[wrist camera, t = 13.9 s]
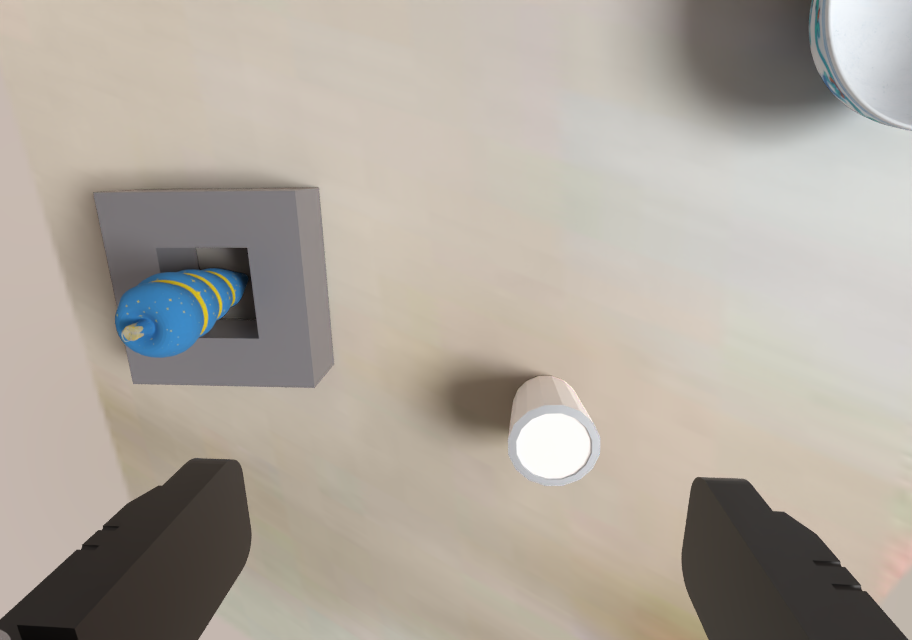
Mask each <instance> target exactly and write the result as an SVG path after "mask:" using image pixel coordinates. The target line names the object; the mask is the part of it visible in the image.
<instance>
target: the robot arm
mask: <svg viewBox="0 0 912 640" xmlns="http://www.w3.org/2000/svg"><path fill="white" fill-rule="evenodd" d="M250 546H251V525H250V518H249V512H248V505H247V498H246V491H245V485H244V478H243V472H242V468H241V465H240V464H239V462H238V461H236V460H230V459H201V458H194V459H191V460H189V461H188V462H187V463H186V464H185V465H184V466H182V467H181V468H180V469H179V470H178V471H177V472H176V473H175V474H174V475H173V476H172V477H171V478H170V479H169V480H168V481H167V482H166V483H165V484H164V485H163V486H157V487H155V488H154V489H152V490H150V491H148V492H147V493H145V494H143V495H142V496H140V497H138V498H136V499H135V500H133V501H131V502H129V503H128V504H126V505H125V506H124V507H123V508H122V509H121V510H120V511H119V512H118V513H117V514H116V515H114V516H113V517H112V518H111V519H110V520H109V521H108V522H107V523H106V524H104V525H103V529H102V530H98V531H97V532H96V533H95V534H94V535H93V536H92V537H90V538H89V539H88V540H87V541H86V542H85V543H84V544H83V545H82V549H81V550H76V551H75V552H74V553H73V554H72V555H71V556H69V557H68V558H67V559H66V560H65V561H64V562H63V563H62V564H61V565H60V566H58V568H56V569H55V570H54V571H53V572H52V573H51V574H50V575H49V576H47V577H46V578H45V579H44V580H43V581H42V582H41V583H40V584H39V585H38V586H37V587H35V588H34V590H32V591H31V592H30V593H29V594H28V595H27V596H26V597H25V598H23V599H22V601H20V602H19V603H18V604H17V605H16V606H15V607H14V608H13V609H11V610H10V611H9V612H8V613H7V614H6V615H5V616H4V617H3V618H1V619H0V640H198V639H199V637H200V636H201V634H202V633H203V631H204V630H205V628H206V626H207V625H208V623H209V621H210V620H211V619H212V617H213V615H214V614H215V612H216V611H217V609H218V607H219V606H220V604H221V603H222V601H223V600H224V598H225V596H226V595H227V593H228V592H229V590H230V588H231V587H232V585H233V584H234V582H235V581H236V579H237V577H238V576H239V574H240V573H241V571H242V569H243V567H244V566H245V563H246V561H247V558H248V555H249V551H250ZM682 571H683V577H684V582H685V586H686V589H687V592H688V594H689V597H690V599H691V601H692V603H693V606H694V608H695V610H696V612H697V615H698V617H699V619H700V621H701V623H702V626H703V628H704V630H705V632H706V635H707V637H708V639H709V640H908V639H907V638H906V636H905V635H904V634H903V633H902V632H901V631H900V630H899V628H898V627H897V626H896V625H895V624H894V623H893V622H892V620H891V619H890V618H889V617H888V616H887V615H886V613H885V612H883V610H882V609H881V608H880V607H879V605H878V604H877V603H876V602H875V601H874V600H873V599H872V597H871V596H870V595H869V594H868V593H867V592H866V591H862V590H861V585H860V584H859V582H858V581H857V580H856V579H855V578H854V577H853V576H852V574H851V573H850V572H849V571H848V570H847V569H846V568H845V567H841V564H840V561H839V560H838V558H837V557H836V556H835V555H834V554H833V553H832V551H831V550H830V549H829V548H828V547H827V546H826V545H825V543H824V542H823V541H822V540H821V539H820V538H819V537H818V535H817V534H815V533H814V532H812V531H811V530H809V529H808V528H807V527H805V526H804V525H802V524H801V523H799V522H798V521H796V520H795V519H794V518H792V517H791V516H789V515H788V514H786V513H785V512H777V511H772V510H771V508H770V507H769V506H768V505H767V503H766V502H765V501H764V500H763V498H762V497H761V496H760V495H759V493H758V492H757V491H756V490H755V488H754V487H753V486H752V485H751V484H750V482H749V481H747V480H745V479H735V478H707V477H697V478H696V479H695V480H694V481H693V483H692V486H691V491H690V498H689V505H688V512H687V519H686V526H685V533H684V540H683V547H682Z"/></svg>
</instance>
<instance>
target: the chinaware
mask: <svg viewBox="0 0 912 640" xmlns="http://www.w3.org/2000/svg"><path fill="white" fill-rule="evenodd" d="M809 41H810V48H811V53H812V57H813V60H814V63H815V66H816V68H817V70H818V73H819V75H820V76H821V78H822V80H823V81H824V83H825V84H826V86H827V87H828V88H829V90H830V91H831V92H832V93H833V94H834V95H835V96H836V97H837V98H838V99H839V100H840V101H841V102H842V103H844V104H845V105H846V106H848V107H849V108H850V109H852V110H853V111H855V112H857V113H859V114H860V115H862V116H864V117H866V118H869V119H871V120H873V121H876V122H879V123H881V124H885V125H888V126H892V127H896V128H900V129H905V130H911V131H912V0H812V2H811V8H810V15H809Z"/></svg>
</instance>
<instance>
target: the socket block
mask: <svg viewBox="0 0 912 640" xmlns="http://www.w3.org/2000/svg"><path fill="white" fill-rule="evenodd" d="M93 194H94V199H95V204H96V209H97V213H98V218H99V223H100V228H101V233H102V237H103V242H104V247H105V252H106V256H107V261H108V266H109V271H110V276H111V280H112V285H113V290H114V295H115V299H116V304H117V308H118V305H119V302H120V299H121V297H122V295H123V294H124V293H125V292H126V291H128V290H129V289H131V288H133V287H135V286H137V285H138V284H139V283H140V282H142V281H143V280H145V279H146V278H148V277H150V276H152V275H155V274H158V273H164V272H179V271H182V270H190V269H196V270H199V266H198V260H197V253H196V248H247V250H248V258H249V265H250V273H251V281H252V288H253V296H254V304H255V312H256V319H257V320H230V319H219V320H217V321H216V322H215V324H214V326H213V327H212V329H211V330H210V331H209V332H208V333H206V334H205V335H203V336H201V337H199V338H198V339H197V341H196V342H195V343H194V344H193V345H192V346H191V347H190V348H189V349H187V350H186V351H184V352H182V353H180V354H178V355H175V356H171V357H164V358H154V357H148V356H144V355H140V354H138V353H136V352H134V351H133V350H131V349H130V348H129V347H127V346H126V345H125V347H126V352H127V357H128V361H129V366H130V371H131V376H132V381H133V384H162V385H210V386H257V387H304V388H315V387H316V385H317V384H318V383H319V382H320V381H321V379H322V378H323V377H324V376H325V375H326V373H327V372H328V371H329V370H330V368H331V367H332V366H333V365H334V358H333V346H332V335H331V323H330V311H329V300H328V288H327V277H326V265H325V253H324V242H323V230H322V219H321V207H320V195H319V188H255V189H152V190H125V191H109V192H93Z"/></svg>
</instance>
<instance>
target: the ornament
mask: <svg viewBox="0 0 912 640" xmlns="http://www.w3.org/2000/svg"><path fill="white" fill-rule="evenodd" d="M247 282H248V276H247V275H246V274H244V273H239V272H234V271H230V270H226V269H220V268H208V269H204V270H196V269H190V270H182V271H179V272H164V273H158V274H155V275H152V276H150V277H148V278H146V279H145V280H143V281H142V282H140V283H139V284H138V285H137V286H135V287H133V288H131V289H129V290H128V291H126V292H125V293H124V294H123V295H122V297H121V299H120V302H119V305H118V308H117V311H116V315H115V324H116V329H117V332H118V335H119V337H120V338H121V340H122V341H123V342H124V344H125V345H126V346H127V347H129V348H130V349H131V350H133V351H134V352H136V353H138V354H140V355H144V356H148V357H154V358H164V357H171V356H175V355H178V354H180V353H182V352H184V351H186V350H187V349H189V348H190V347H191V346H192V345H193V344H194V343H195V342H196V341H197V339H198V338H199V337H201V336H203V335H205V334H206V333H208V332H209V331H210V330H211V329H212V327H213V326H214V324H215V322H216V321H217V320H219V319H220V318H222V317H223V316H224V315H225V314H226V313H227V312H228V310H229V308H230V307H233V306H234V305H236V304H237V303H238V302H239V301H240V300H241V298H242V296H243V293H244V291H245V288H246V285H247Z"/></svg>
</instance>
